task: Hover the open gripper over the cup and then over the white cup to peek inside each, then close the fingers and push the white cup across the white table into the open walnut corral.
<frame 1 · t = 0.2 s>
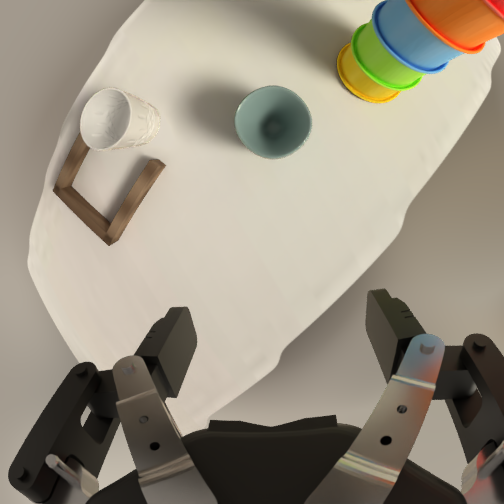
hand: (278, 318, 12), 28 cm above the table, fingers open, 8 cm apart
corral: (107, 176, 38), on the table
white cup: (141, 124, 36), on the table
stacking cups: (369, 71, 30), on the table
cup: (273, 130, 35), on the table
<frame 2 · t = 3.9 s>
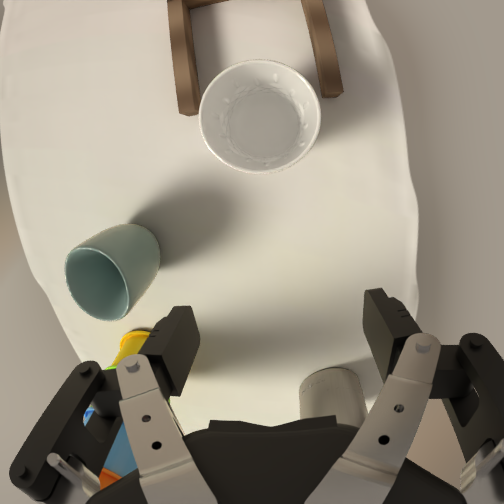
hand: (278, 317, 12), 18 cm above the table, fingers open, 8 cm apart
corral: (251, 39, 22), on the table
white cup: (265, 126, 25), on the table
stacking cups: (152, 354, 37), on the table
cup: (140, 247, 31), on the table
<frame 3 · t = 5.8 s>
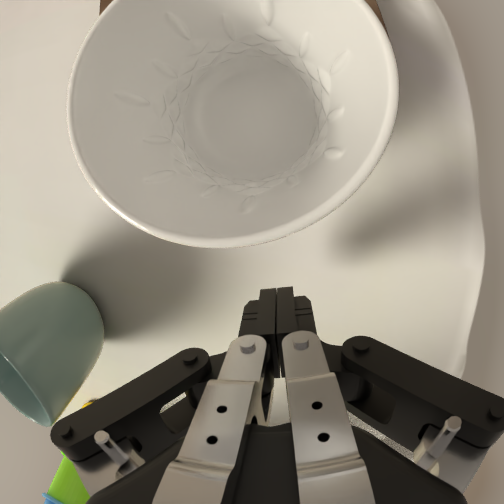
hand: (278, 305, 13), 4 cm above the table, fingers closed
white cup: (253, 123, 14), on the table
stacking cups: (120, 425, 26), on the table
cup: (81, 309, 20), on the table
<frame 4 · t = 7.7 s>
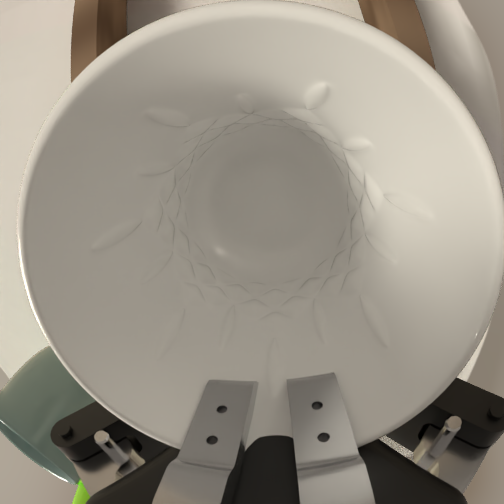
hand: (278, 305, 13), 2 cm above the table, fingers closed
corral: (240, 12, 9), on the table
white cup: (267, 195, 13), on the table, touching gripper
cup: (87, 364, 19), on the table
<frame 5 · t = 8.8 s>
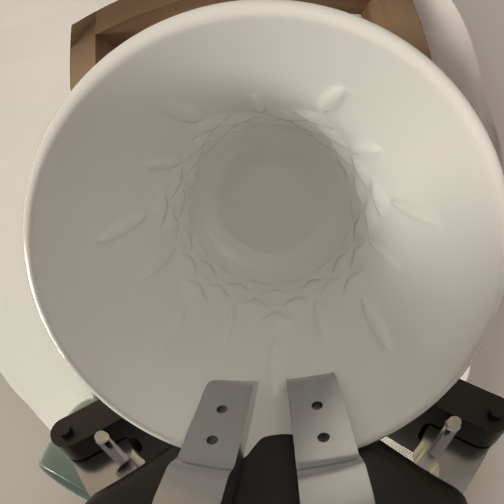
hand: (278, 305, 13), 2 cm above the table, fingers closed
corral: (257, 129, 12), on the table
white cup: (271, 195, 13), on the table, touching gripper
cup: (117, 411, 21), on the table
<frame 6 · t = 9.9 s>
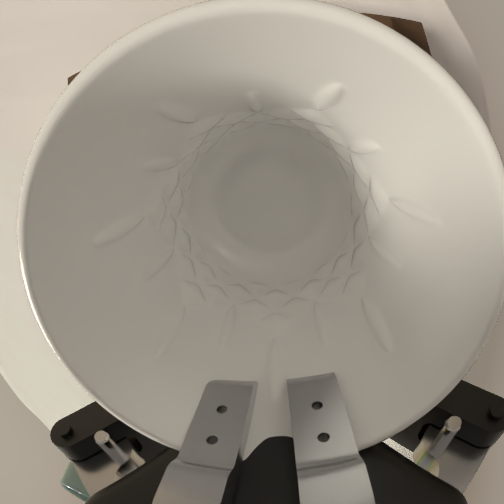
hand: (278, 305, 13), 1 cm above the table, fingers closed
corral: (266, 197, 13), on the table
white cup: (270, 195, 13), on the table, touching gripper
cup: (130, 430, 22), on the table
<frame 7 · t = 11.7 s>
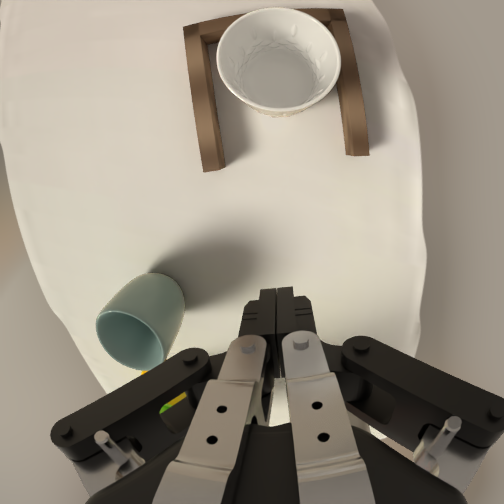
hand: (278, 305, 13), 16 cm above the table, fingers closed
corral: (275, 86, 23), on the table
white cup: (277, 86, 23), on the table
cup: (163, 291, 33), on the table
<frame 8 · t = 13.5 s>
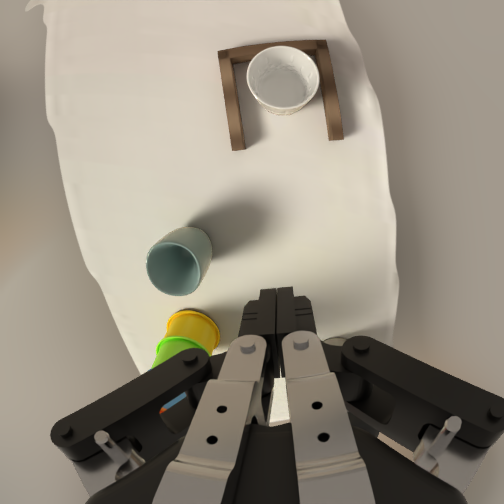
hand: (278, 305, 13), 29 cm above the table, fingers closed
corral: (280, 94, 34), on the table
white cup: (281, 94, 35), on the table
stacking cups: (193, 331, 50), on the table
cup: (193, 244, 44), on the table
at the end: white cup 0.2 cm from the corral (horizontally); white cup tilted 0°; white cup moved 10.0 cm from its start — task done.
